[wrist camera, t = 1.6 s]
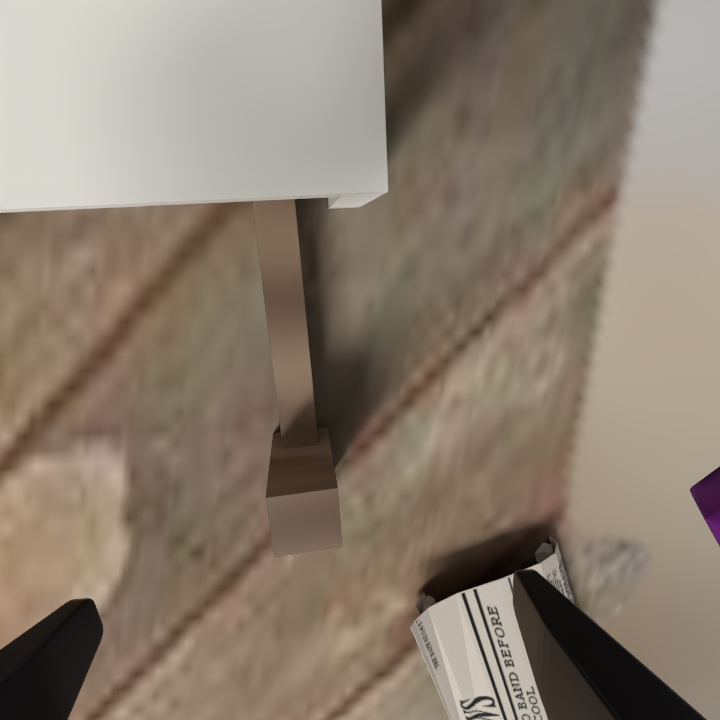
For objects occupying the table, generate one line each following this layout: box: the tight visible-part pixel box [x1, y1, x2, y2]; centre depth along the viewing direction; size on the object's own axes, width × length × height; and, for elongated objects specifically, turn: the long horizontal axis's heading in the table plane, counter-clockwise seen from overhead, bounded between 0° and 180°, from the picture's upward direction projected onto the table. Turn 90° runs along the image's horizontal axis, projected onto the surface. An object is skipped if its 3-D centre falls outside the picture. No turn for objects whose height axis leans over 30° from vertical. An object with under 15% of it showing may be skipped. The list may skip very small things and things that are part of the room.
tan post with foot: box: [252, 199, 343, 557], centre depth 17 cm, size 20×7×6 cm, turn 3°
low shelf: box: [0, 0, 388, 213], centre depth 14 cm, size 10×18×6 cm, turn 93°
